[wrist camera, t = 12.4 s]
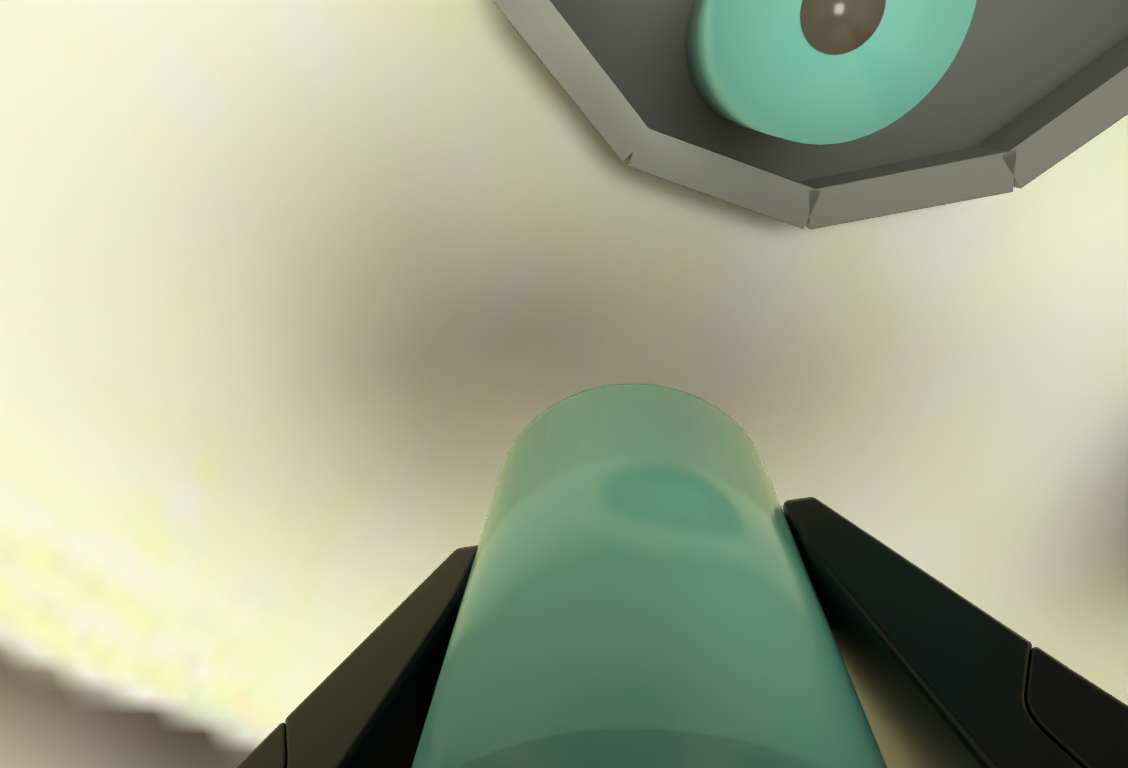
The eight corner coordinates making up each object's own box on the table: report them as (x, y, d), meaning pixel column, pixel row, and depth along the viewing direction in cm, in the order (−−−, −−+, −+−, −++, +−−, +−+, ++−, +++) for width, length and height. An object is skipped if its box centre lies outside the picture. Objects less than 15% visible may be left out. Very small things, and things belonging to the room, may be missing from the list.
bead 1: (753, 358, 9) (938, 705, 4) (781, 590, 11) (932, 1036, 6) (464, 411, 10) (298, 762, 4) (535, 619, 11) (471, 1039, 6)
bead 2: (870, -87, 14) (1000, -183, 9) (859, 116, 16) (963, 126, 11) (680, -52, 15) (708, -124, 10) (690, 140, 17) (717, 159, 12)
